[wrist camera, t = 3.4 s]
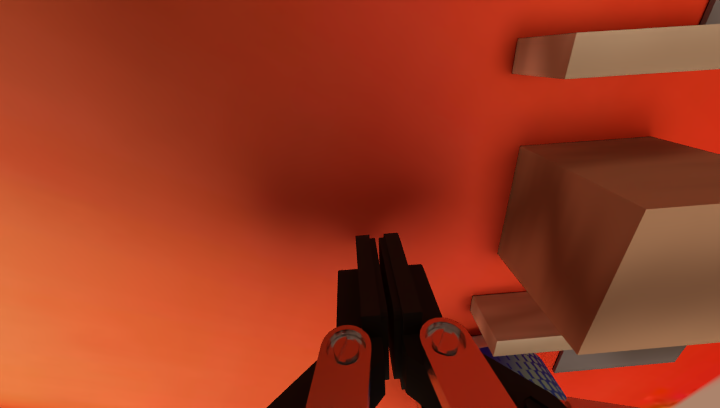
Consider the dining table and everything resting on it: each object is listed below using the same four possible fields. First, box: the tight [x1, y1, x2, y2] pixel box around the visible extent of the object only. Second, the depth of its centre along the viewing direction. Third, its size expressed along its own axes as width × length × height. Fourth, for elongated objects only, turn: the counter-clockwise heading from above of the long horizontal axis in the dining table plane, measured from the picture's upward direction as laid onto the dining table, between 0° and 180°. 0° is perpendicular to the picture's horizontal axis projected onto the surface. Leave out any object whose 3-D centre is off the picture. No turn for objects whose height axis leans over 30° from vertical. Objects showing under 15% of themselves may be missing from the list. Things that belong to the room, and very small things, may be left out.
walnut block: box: [498, 137, 720, 355], centre depth 12 cm, size 6×6×6 cm
